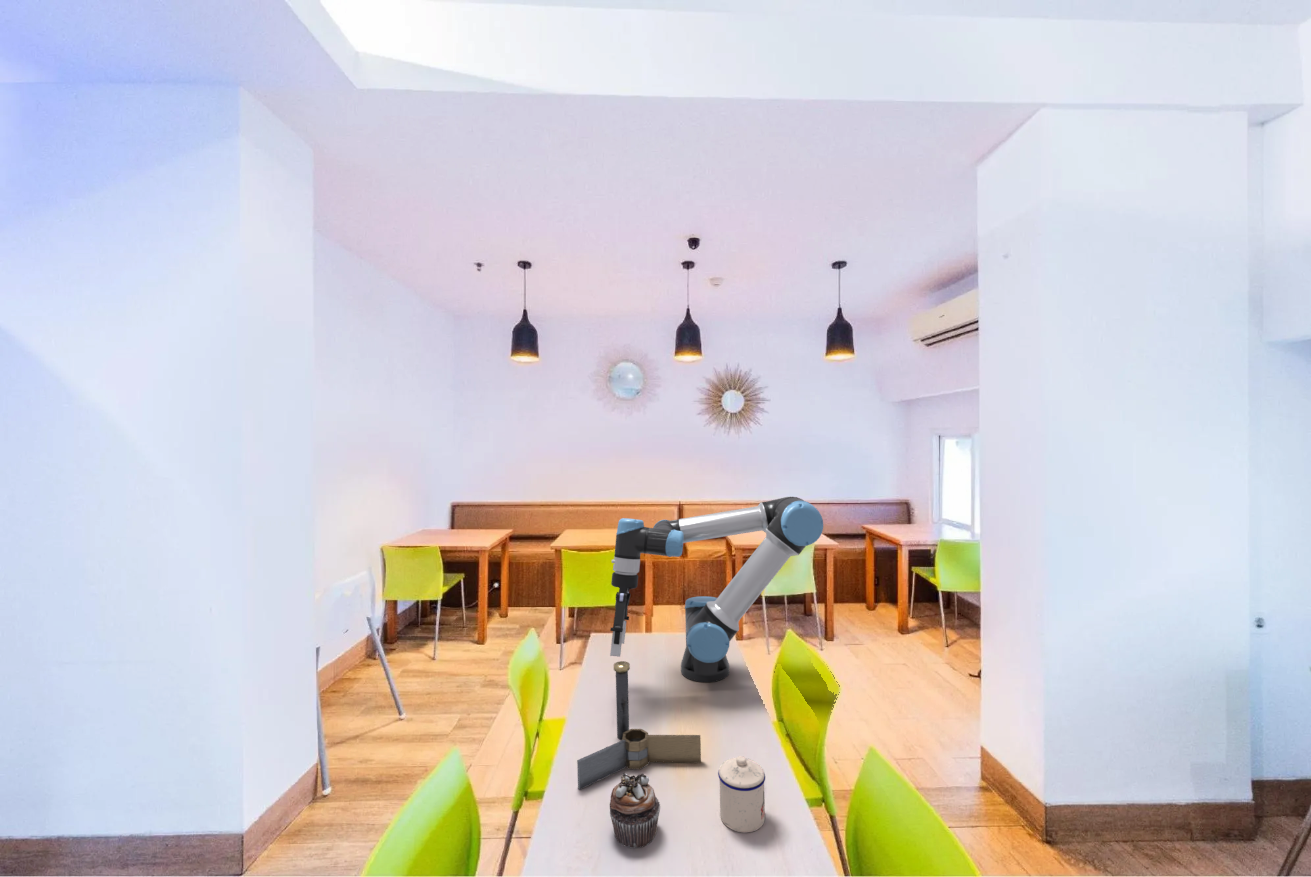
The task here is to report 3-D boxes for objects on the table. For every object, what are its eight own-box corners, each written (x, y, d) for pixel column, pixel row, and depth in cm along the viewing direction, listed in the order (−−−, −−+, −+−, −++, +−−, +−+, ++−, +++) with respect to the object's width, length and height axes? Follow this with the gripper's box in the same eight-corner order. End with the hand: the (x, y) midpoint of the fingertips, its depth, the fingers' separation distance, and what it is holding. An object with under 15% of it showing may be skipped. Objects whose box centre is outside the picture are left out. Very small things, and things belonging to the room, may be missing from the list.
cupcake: (609, 853, 96) (608, 798, 96) (610, 815, 106) (609, 765, 106) (662, 850, 97) (661, 795, 97) (659, 812, 107) (658, 762, 106)
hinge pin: (631, 732, 135) (630, 661, 135) (630, 741, 131) (628, 668, 131) (616, 732, 135) (614, 661, 135) (614, 741, 131) (612, 668, 131)
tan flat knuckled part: (700, 754, 125) (699, 729, 125) (701, 769, 119) (700, 743, 119) (624, 753, 126) (624, 728, 126) (622, 769, 120) (621, 743, 120)
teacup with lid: (773, 830, 101) (772, 769, 101) (727, 838, 99) (726, 776, 99) (750, 789, 113) (749, 734, 113) (709, 795, 111) (708, 739, 111)
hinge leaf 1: (638, 750, 127) (638, 726, 127) (653, 762, 122) (653, 736, 122) (572, 781, 116) (571, 754, 116) (585, 795, 112) (585, 767, 112)
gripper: (616, 566, 166) (608, 637, 164) (607, 577, 141) (598, 660, 139) (640, 569, 166) (633, 639, 163) (636, 580, 141) (627, 663, 139)
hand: (617, 649), depth 151 cm, fingers open, 13 cm apart
